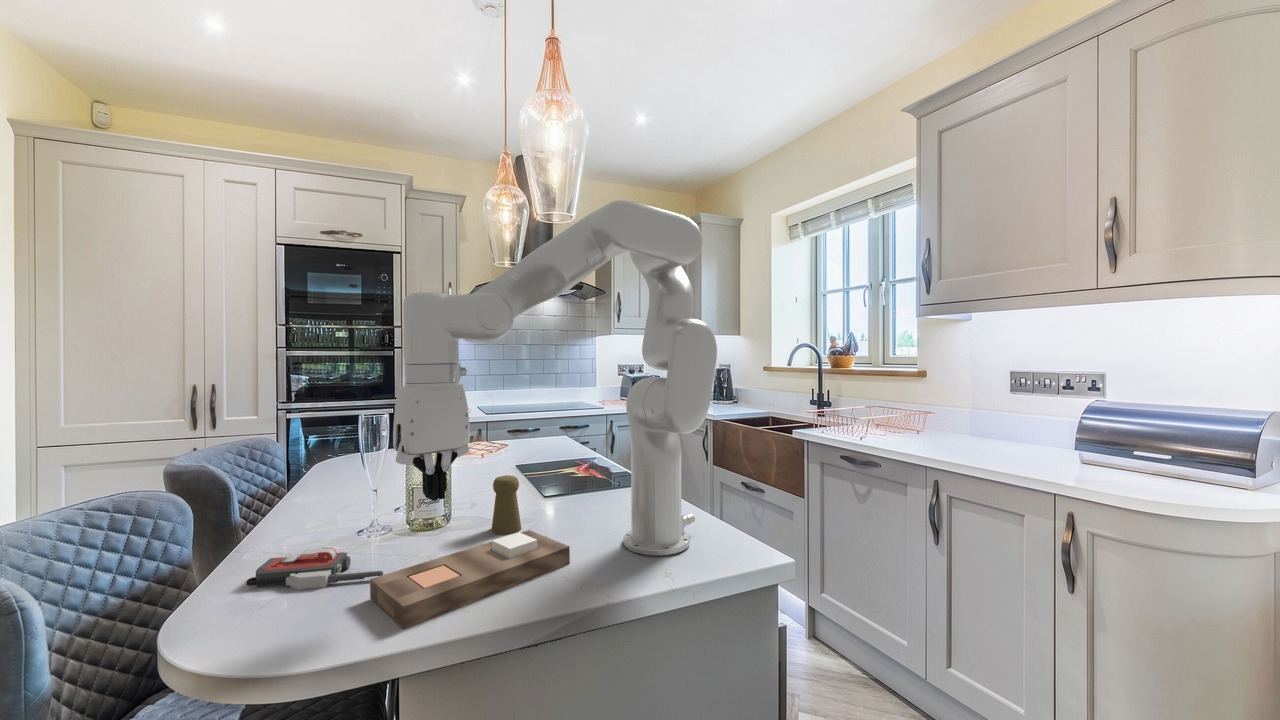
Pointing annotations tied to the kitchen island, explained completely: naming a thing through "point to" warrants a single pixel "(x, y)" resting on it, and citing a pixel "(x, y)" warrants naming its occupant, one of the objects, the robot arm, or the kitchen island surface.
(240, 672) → the kitchen island surface
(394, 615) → the block
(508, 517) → the cork
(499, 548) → the off-white key
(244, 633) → the kitchen island surface
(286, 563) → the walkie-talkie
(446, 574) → the terracotta key
